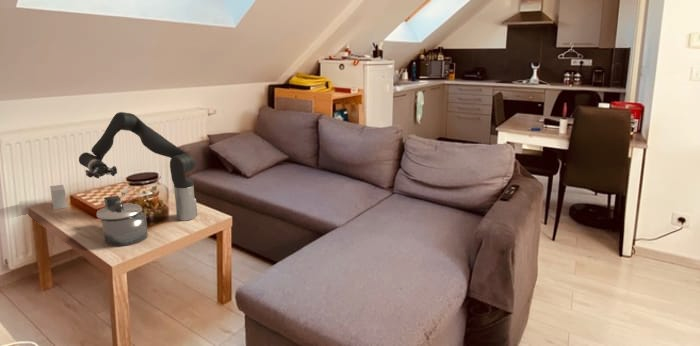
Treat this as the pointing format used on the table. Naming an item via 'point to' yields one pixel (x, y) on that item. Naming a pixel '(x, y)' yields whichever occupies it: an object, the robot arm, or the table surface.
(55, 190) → the skincare box
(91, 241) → the table surface
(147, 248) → the table surface
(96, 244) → the table surface
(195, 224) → the table surface
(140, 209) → the lid
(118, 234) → the pot
